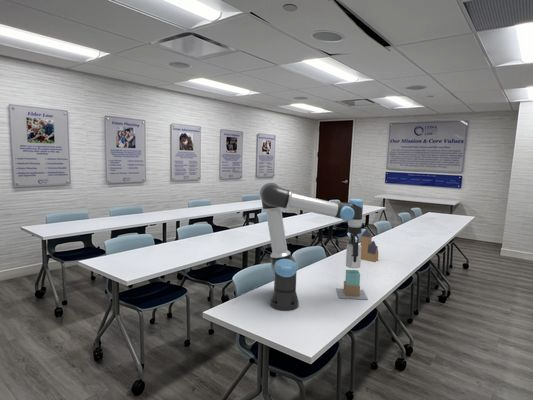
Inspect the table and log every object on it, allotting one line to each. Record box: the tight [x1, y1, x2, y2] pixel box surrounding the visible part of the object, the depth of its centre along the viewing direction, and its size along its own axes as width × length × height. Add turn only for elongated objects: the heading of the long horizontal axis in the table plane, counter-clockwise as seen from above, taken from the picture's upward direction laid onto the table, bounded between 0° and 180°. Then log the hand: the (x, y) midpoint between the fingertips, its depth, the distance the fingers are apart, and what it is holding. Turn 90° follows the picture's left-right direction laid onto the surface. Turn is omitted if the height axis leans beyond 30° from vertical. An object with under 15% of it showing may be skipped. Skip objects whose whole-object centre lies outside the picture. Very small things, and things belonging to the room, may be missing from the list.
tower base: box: [335, 280, 369, 301], centre depth 198 cm, size 16×14×7 cm
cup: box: [345, 243, 362, 269], centre depth 195 cm, size 8×8×12 cm
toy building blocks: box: [359, 228, 379, 263], centre depth 273 cm, size 12×19×25 cm
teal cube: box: [344, 269, 361, 287], centre depth 197 cm, size 7×7×7 cm
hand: (353, 264), depth 196 cm, fingers closed on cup, 8 cm apart
